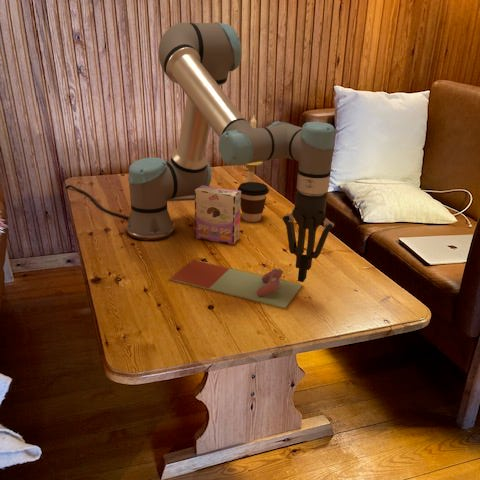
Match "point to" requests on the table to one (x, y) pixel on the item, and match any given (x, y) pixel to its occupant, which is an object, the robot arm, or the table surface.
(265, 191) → the coffee cup
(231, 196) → the candy box
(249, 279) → the placemat
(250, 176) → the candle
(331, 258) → the table surface
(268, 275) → the video game controller
